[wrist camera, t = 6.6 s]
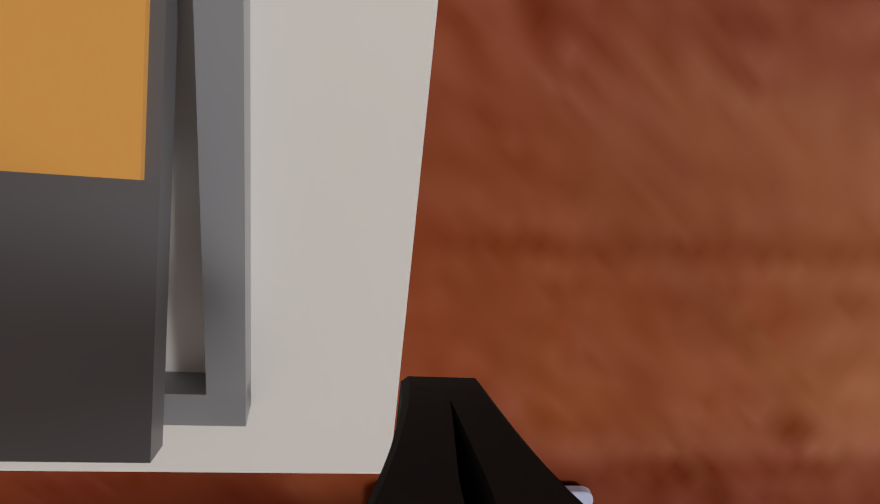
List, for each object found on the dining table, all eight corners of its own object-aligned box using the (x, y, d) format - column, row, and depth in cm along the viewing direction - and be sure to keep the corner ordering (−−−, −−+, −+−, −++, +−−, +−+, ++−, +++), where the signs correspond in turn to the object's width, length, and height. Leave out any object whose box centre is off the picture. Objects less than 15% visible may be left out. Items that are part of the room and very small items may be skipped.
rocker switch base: (385, 412, 24) (391, 508, 20) (-130, 401, 22) (-240, 507, 18) (444, -203, 17) (472, -245, 13) (-328, -320, 14) (-592, -416, 10)
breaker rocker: (162, 445, 15) (145, 468, 14) (-87, 442, 15) (-128, 466, 13) (179, -20, 15) (163, -40, 13) (-83, -48, 14) (-126, -72, 13)
